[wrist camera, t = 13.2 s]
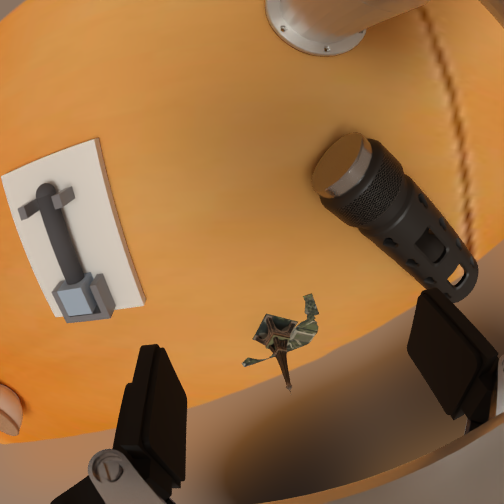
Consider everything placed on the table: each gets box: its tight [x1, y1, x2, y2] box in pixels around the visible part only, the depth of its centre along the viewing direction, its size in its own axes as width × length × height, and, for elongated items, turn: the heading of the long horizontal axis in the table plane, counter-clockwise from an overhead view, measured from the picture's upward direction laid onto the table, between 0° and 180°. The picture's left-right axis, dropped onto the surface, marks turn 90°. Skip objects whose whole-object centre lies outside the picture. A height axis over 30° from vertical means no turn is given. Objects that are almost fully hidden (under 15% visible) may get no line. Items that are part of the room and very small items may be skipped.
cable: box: [36, 183, 97, 316], centre depth 33 cm, size 17×4×4 cm, turn 8°
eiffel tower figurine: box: [242, 294, 319, 390], centre depth 41 cm, size 15×10×13 cm
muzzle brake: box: [311, 132, 478, 303], centre depth 35 cm, size 10×28×10 cm, turn 55°
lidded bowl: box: [0, 384, 23, 436], centre depth 45 cm, size 13×13×11 cm
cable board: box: [1, 138, 146, 323], centre depth 34 cm, size 23×16×5 cm
